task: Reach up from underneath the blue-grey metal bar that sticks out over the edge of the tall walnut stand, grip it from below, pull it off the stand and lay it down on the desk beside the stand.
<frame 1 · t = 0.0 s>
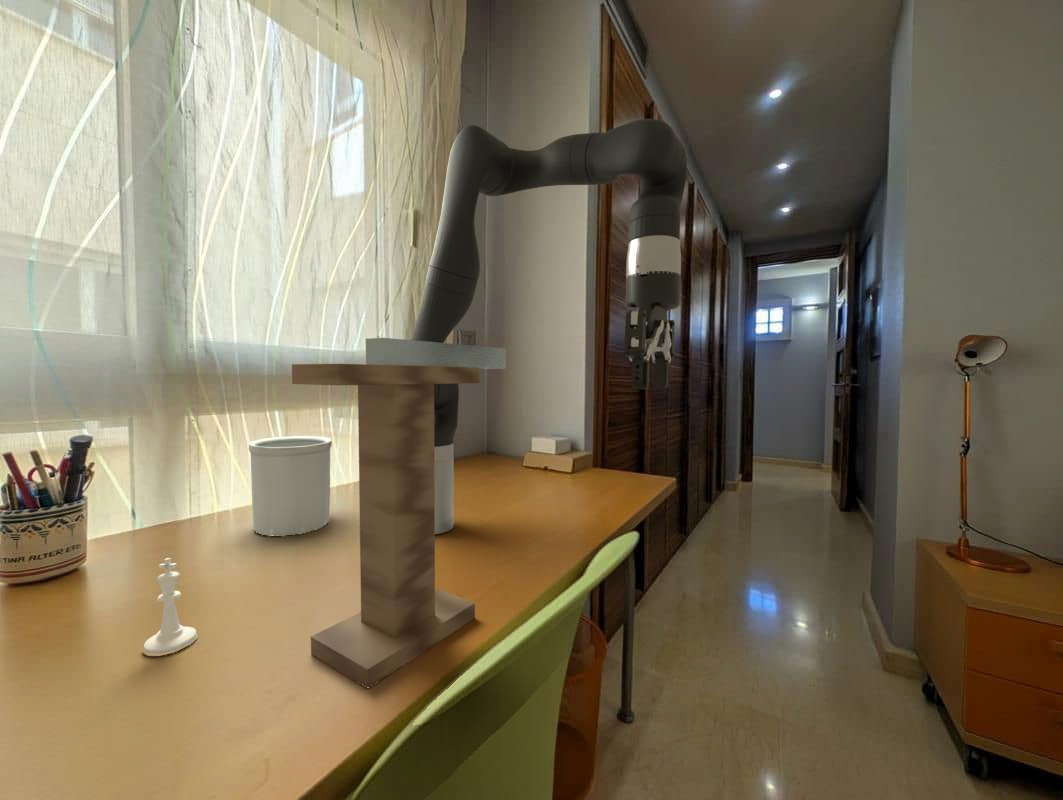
hand: (650, 388, 66), 29 cm above the table, tool pointing down, fingers open, 8 cm apart
utensil holder: (293, 526, 93), on the table
chess piece: (170, 645, 52), on the table
walnut stand: (398, 634, 54), on the table
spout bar: (445, 367, 59), point 32 cm above the table, touching walnut stand
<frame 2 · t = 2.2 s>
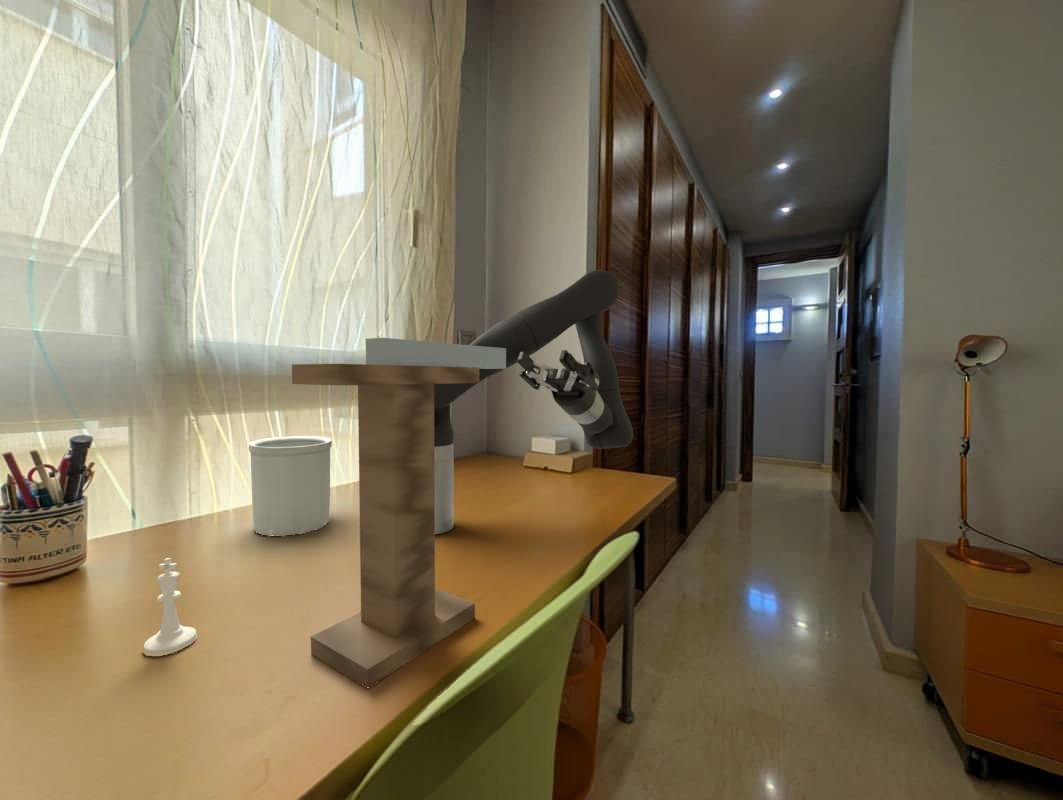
hand: (540, 355, 78), 34 cm above the table, tool pointing upward, fingers open, 8 cm apart
nothing on the table moved.
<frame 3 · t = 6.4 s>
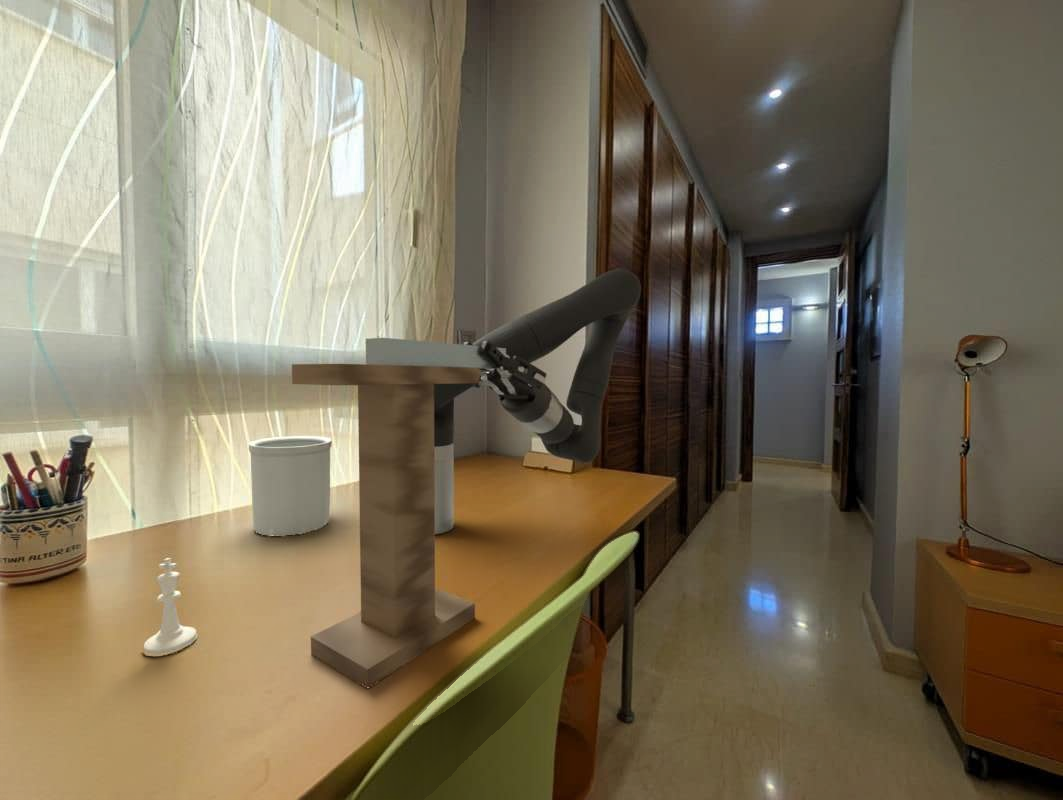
hand: (473, 347, 64), 35 cm above the table, tool pointing upward, fingers closed on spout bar, 3 cm apart
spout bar: (445, 367, 59), point 32 cm above the table, touching gripper, walnut stand
everything else where it was.
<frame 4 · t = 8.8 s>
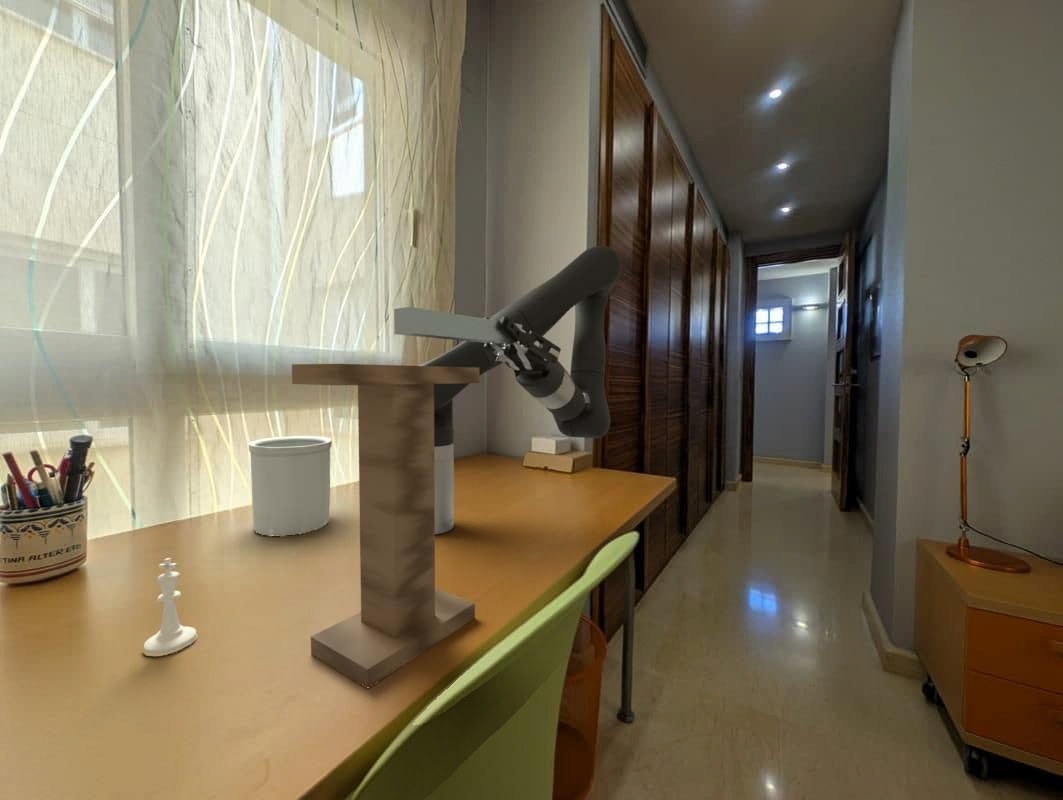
hand: (492, 322, 67), 39 cm above the table, tool pointing upward, fingers closed on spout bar, 3 cm apart
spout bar: (466, 339, 63), point 36 cm above the table, touching gripper
everything else where it was.
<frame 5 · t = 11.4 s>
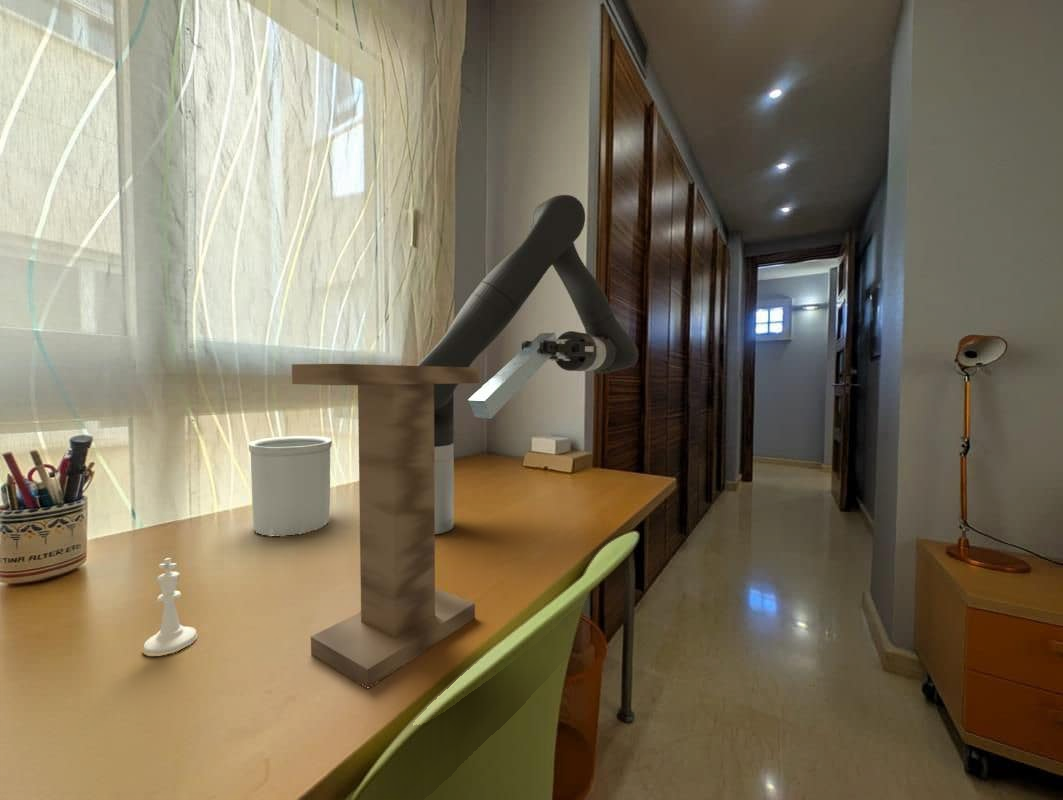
hand: (532, 347, 76), 36 cm above the table, tool horizontal, fingers closed on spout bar, 3 cm apart
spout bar: (520, 379, 73), point 30 cm above the table, tilted 30°, touching gripper
everything else where it was.
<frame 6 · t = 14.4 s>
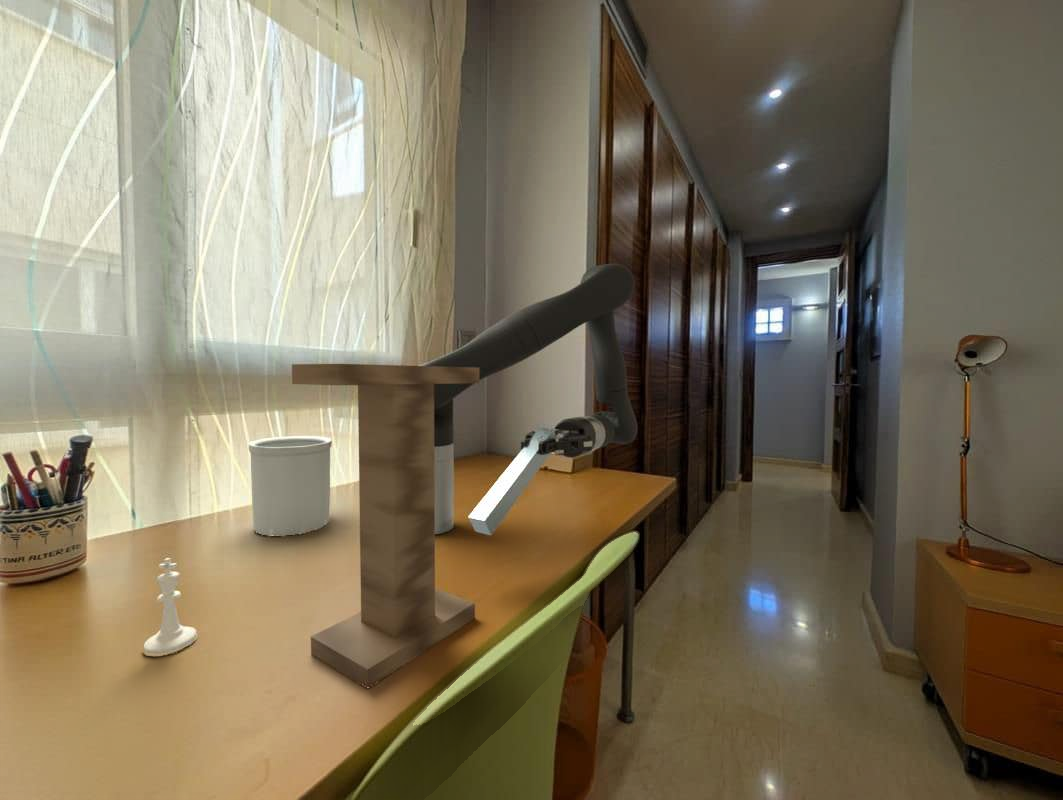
hand: (531, 447, 77), 19 cm above the table, tool horizontal, fingers closed on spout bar, 3 cm apart
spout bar: (520, 483, 74), point 13 cm above the table, tilted 31°, touching gripper
everything else where it was.
when the fingers open (10 cm above the table, at t = 16.6 s): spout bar drops 6 cm, on the table.
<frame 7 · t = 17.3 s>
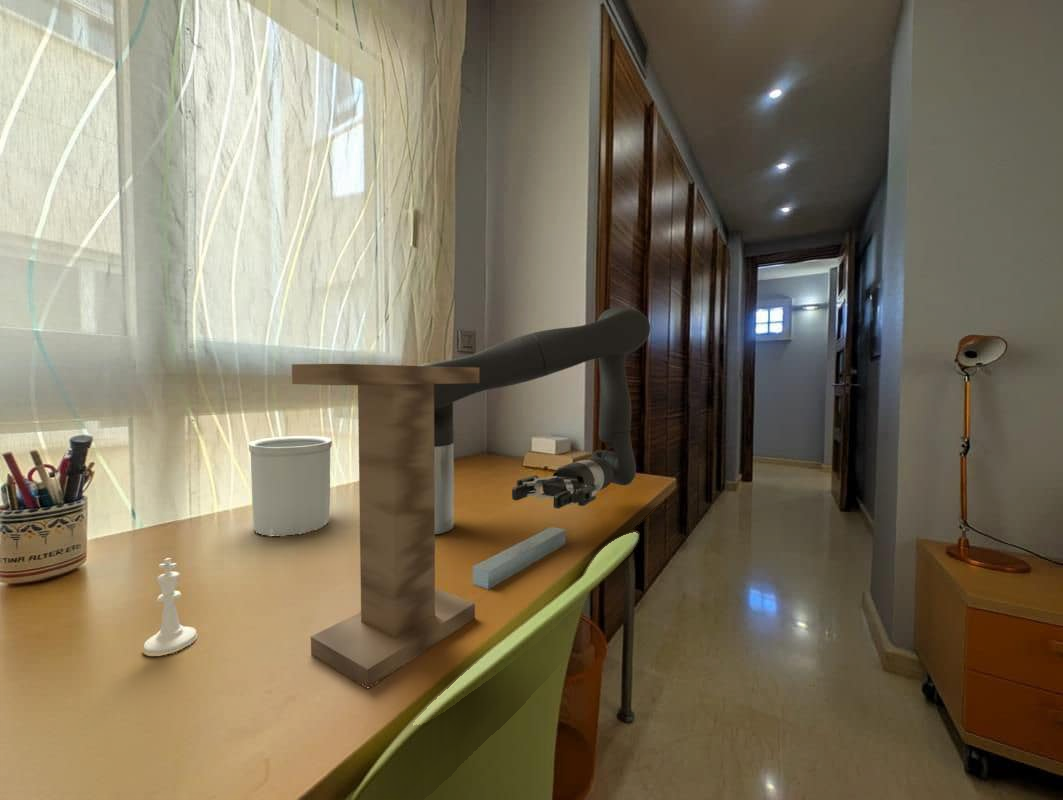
hand: (534, 498, 78), 10 cm above the table, tool horizontal, fingers open, 8 cm apart
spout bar: (523, 563, 76), on the table
everything else where it was.
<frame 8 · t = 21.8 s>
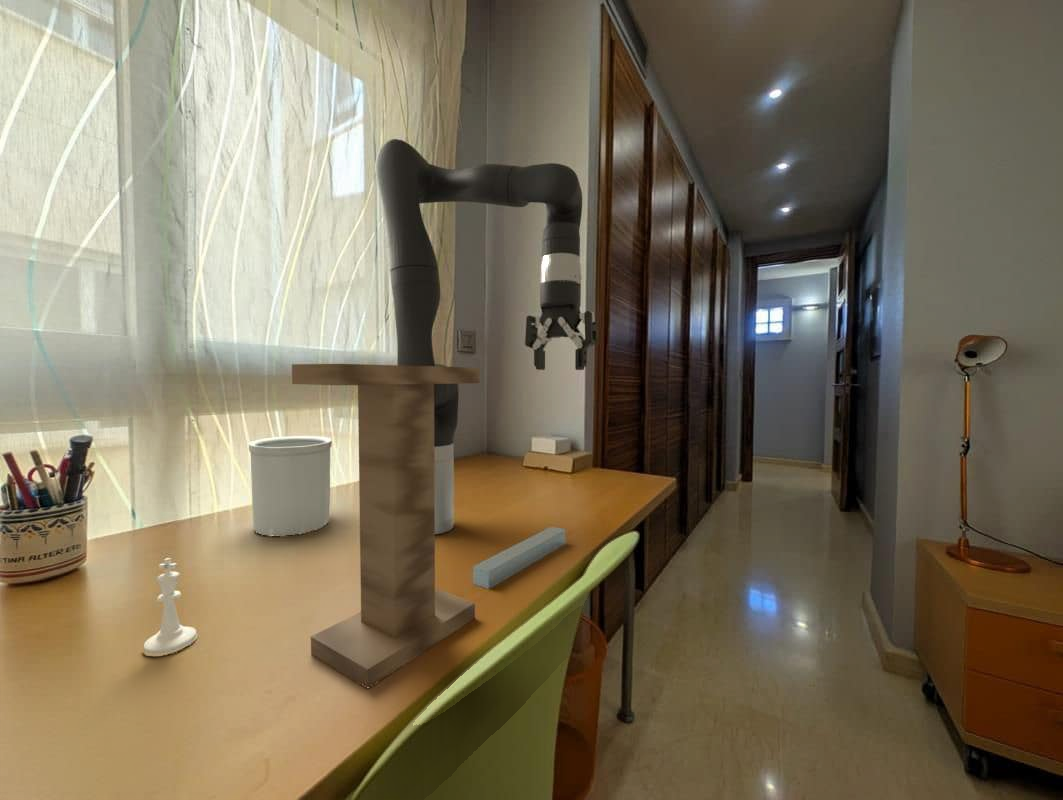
hand: (559, 369, 86), 32 cm above the table, tool pointing down, fingers open, 8 cm apart
nothing on the table moved.
at the end: the gripper is holding nothing; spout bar inside the target area (3.2 cm from its centre), on the table; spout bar touching table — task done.
